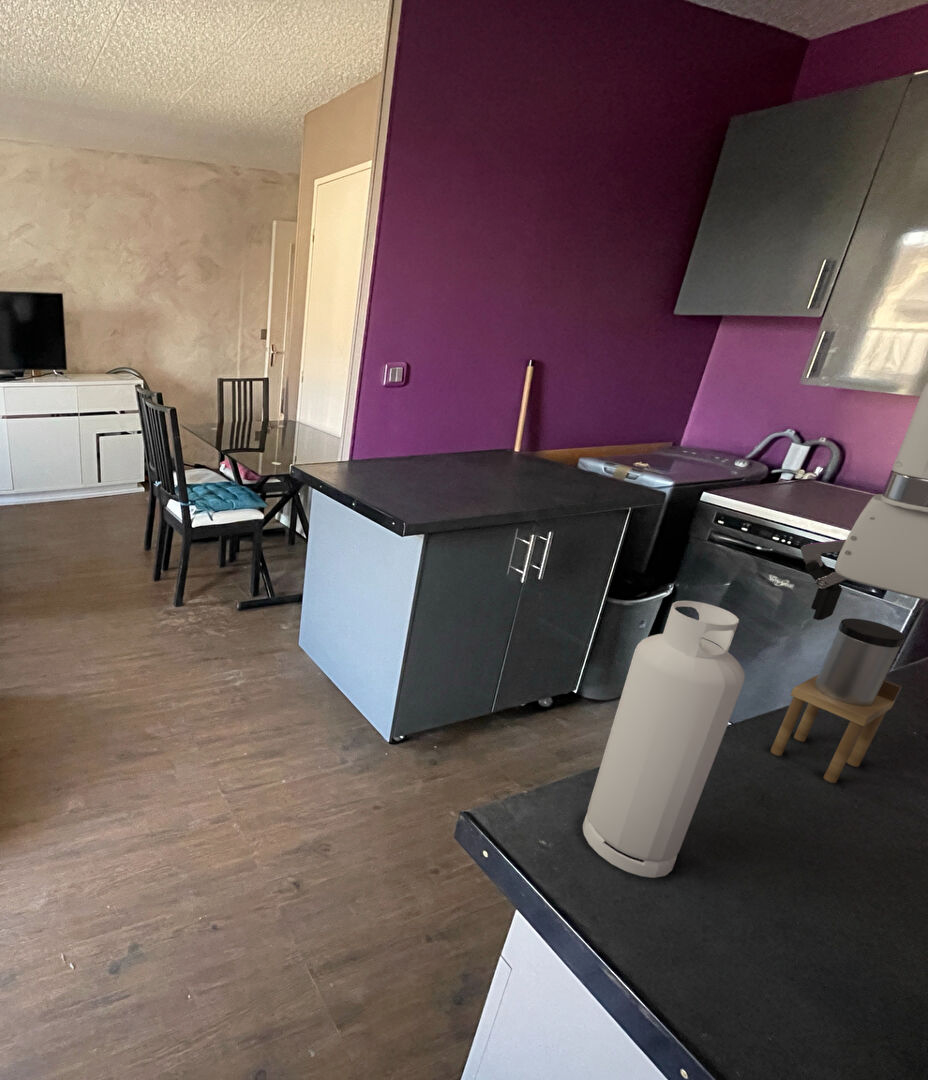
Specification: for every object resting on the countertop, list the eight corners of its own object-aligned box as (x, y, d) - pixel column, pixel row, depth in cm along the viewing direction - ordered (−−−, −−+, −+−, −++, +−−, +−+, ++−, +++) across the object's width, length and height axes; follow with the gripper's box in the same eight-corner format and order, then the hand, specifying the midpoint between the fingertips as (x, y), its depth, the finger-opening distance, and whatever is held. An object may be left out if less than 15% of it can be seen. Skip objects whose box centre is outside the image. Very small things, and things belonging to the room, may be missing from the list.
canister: (824, 677, 74) (852, 614, 71) (881, 699, 69) (913, 633, 66) (805, 687, 72) (833, 623, 68) (862, 711, 67) (894, 643, 64)
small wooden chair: (794, 734, 78) (828, 658, 74) (862, 766, 73) (902, 686, 69) (766, 752, 75) (799, 673, 71) (834, 786, 70) (874, 703, 66)
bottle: (636, 813, 66) (711, 592, 56) (693, 877, 58) (791, 634, 48) (566, 815, 66) (629, 593, 56) (614, 879, 58) (696, 635, 48)
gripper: (1088, 508, 56) (1007, 661, 62) (842, 472, 70) (796, 598, 76) (1064, 520, 53) (982, 681, 59) (813, 480, 67) (767, 611, 73)
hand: (877, 634), depth 67 cm, fingers open, 9 cm apart
